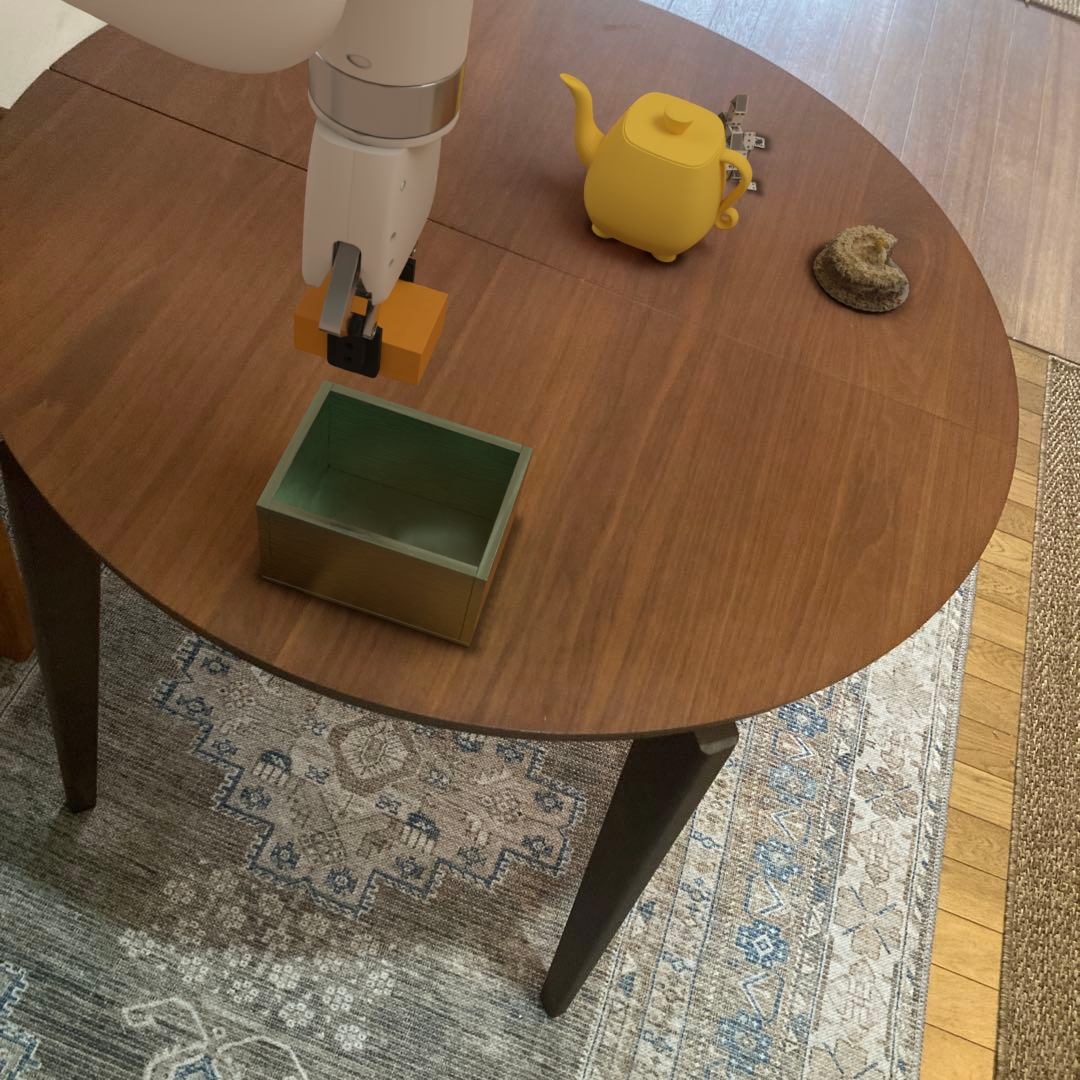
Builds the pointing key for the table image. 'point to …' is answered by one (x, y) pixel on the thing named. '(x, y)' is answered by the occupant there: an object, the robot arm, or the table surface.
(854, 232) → the cake
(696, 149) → the teapot
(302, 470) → the bin
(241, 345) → the table surface
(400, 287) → the block
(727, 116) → the house of cards
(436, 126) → the robot arm
